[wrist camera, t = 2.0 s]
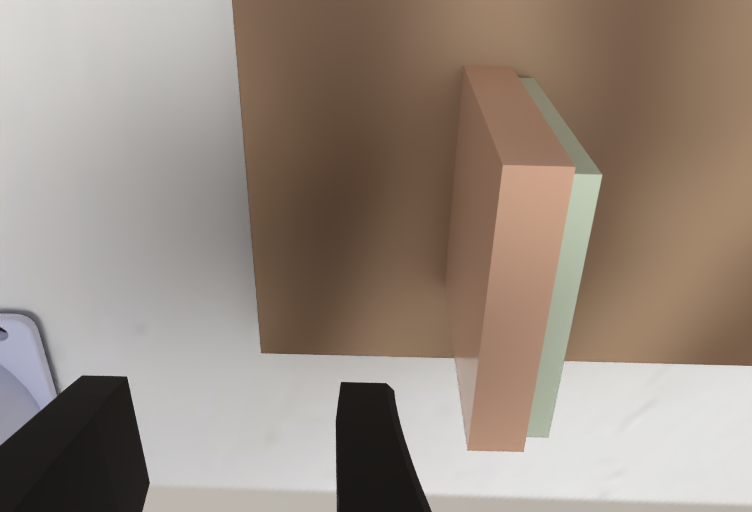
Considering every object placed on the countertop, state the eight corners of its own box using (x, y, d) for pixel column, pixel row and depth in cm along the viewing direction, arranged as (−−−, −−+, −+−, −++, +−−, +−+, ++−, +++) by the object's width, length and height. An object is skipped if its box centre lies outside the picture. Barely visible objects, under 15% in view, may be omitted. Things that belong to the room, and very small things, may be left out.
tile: (444, 285, 18) (467, 450, 13) (463, 64, 15) (502, 165, 10) (502, 287, 18) (549, 452, 13) (533, 66, 15) (608, 167, 10)
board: (267, 328, 21) (261, 352, 20) (238, -66, 15) (226, -62, 14) (785, 342, 21) (807, 367, 20) (945, -48, 15) (987, -43, 14)
